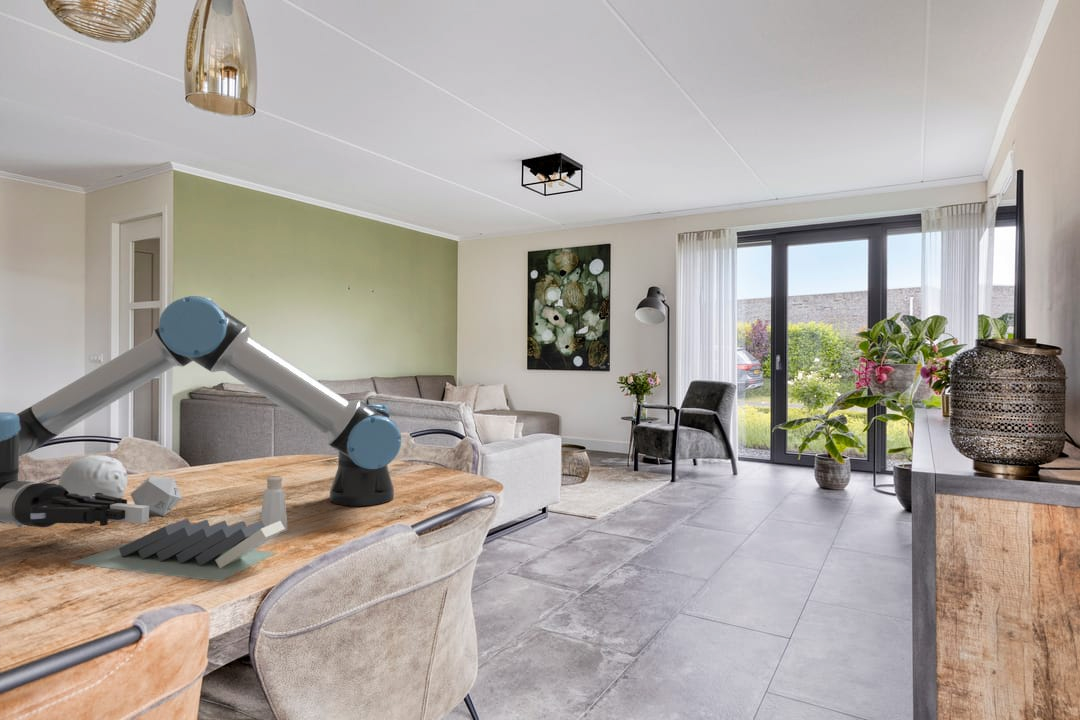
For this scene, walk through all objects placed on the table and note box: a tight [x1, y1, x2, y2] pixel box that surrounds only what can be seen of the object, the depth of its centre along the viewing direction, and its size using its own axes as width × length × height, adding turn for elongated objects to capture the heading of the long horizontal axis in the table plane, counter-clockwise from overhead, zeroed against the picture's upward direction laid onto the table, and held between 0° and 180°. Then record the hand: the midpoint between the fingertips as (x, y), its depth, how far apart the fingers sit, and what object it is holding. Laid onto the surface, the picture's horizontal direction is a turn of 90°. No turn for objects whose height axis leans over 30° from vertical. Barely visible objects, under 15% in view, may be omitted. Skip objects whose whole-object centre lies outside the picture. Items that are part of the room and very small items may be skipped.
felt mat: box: [70, 540, 277, 582], centre depth 103 cm, size 28×14×1 cm, turn 78°
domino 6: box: [215, 521, 285, 568], centre depth 100 cm, size 2×5×10 cm
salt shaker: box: [259, 475, 288, 534], centre depth 120 cm, size 5×5×11 cm
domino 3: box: [157, 520, 229, 562], centre depth 102 cm, size 2×5×10 cm
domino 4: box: [176, 520, 247, 564], centre depth 101 cm, size 2×5×10 cm
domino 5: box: [195, 520, 265, 566], centre depth 100 cm, size 2×5×10 cm
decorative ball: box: [58, 454, 128, 498], centre depth 131 cm, size 12×12×12 cm
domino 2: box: [138, 519, 211, 559], centre depth 103 cm, size 2×5×10 cm
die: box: [130, 476, 183, 517], centre depth 131 cm, size 8×9×10 cm
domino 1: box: [119, 518, 191, 557], centre depth 103 cm, size 2×5×10 cm
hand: (145, 514), depth 104 cm, fingers closed
